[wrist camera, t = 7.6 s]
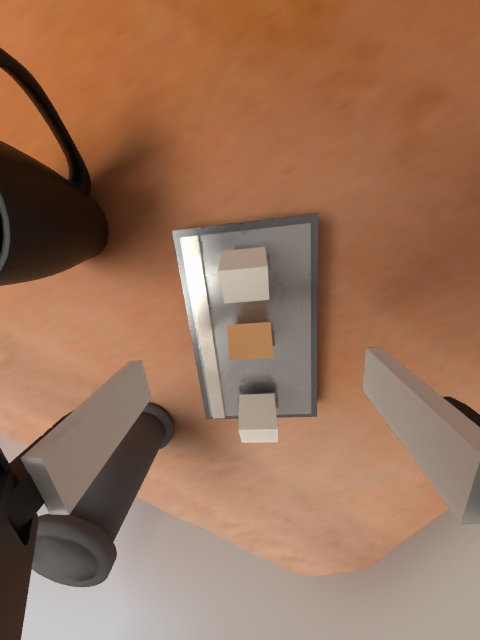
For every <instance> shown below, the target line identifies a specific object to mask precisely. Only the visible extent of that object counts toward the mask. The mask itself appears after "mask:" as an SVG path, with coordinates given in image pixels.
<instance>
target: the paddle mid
mask: <svg viewBox="0 0 480 640" xmlns="http://www.w3.org/2000/svg"><path fill="white" fill-rule="evenodd" d="M227 332H228V349H229V360H235V359H254V358H273V347H272V346H275V335H274V331H271V322H261V323H247V324H232V325H227Z"/></svg>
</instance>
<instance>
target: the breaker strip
mask: <svg viewBox="0 0 480 640" xmlns="http://www.w3.org/2000/svg"><path fill="white" fill-rule="evenodd" d="M172 233H173V238H174V244H175V250H176V255H177V261H178V266H179V272H180V277H181V283H182V288H183V294H184V299H185V305H186V310H187V316H188V321H189V327H190V332H191V338H192V344H193V349H194V355H195V360H196V366H197V371H198V377H199V382H200V388H201V393H202V399H203V404H204V410H205V415H206V419H238V418H239V409H238V408H237V395H244V394H272V393H274V394H278V404H279V408H276V417H277V418H278V417H317V321H318V214H309V215H301V216H292V217H284V218H275V219H267V220H259V221H250V222H242V223H233V224H225V225H216V226H208V227H200V228H191V229H183V230H174V231H172ZM256 247H265V250H266V254H270V263H271V271H268V282H269V300H261V301H249V302H236V303H224V299H223V294H222V290H221V285H220V280H219V275H218V268H219V264H220V259H221V255H222V251H228V250H237V249H247V248H256ZM261 322H271V331H274V335H275V346H272V347H273V358H254V359H235V360H229V349H228V332H227V325H232V324H247V323H261Z"/></svg>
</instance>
